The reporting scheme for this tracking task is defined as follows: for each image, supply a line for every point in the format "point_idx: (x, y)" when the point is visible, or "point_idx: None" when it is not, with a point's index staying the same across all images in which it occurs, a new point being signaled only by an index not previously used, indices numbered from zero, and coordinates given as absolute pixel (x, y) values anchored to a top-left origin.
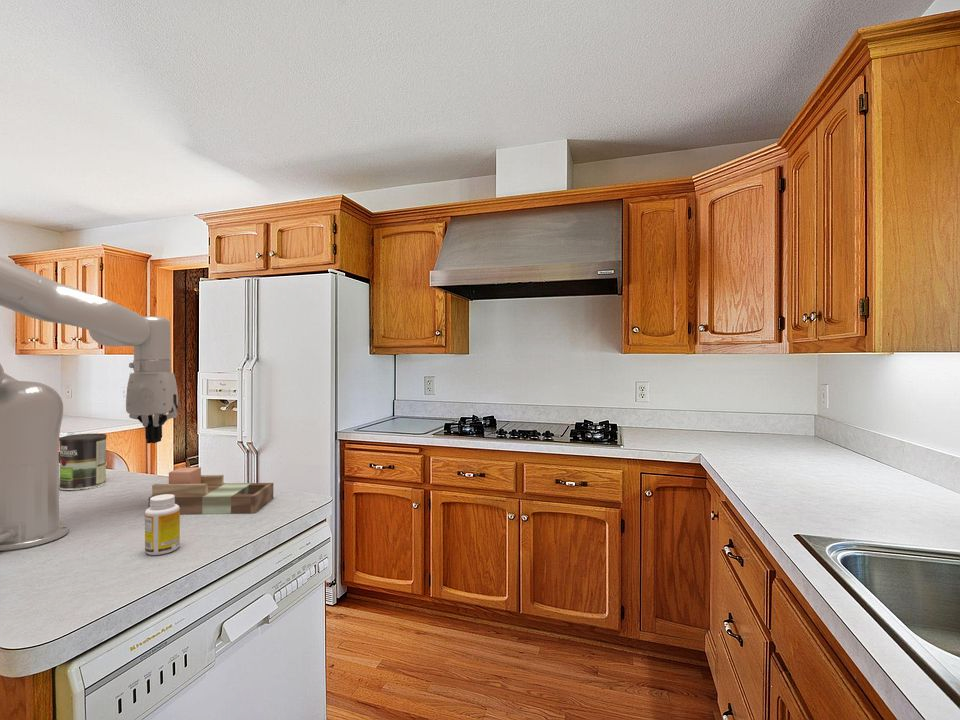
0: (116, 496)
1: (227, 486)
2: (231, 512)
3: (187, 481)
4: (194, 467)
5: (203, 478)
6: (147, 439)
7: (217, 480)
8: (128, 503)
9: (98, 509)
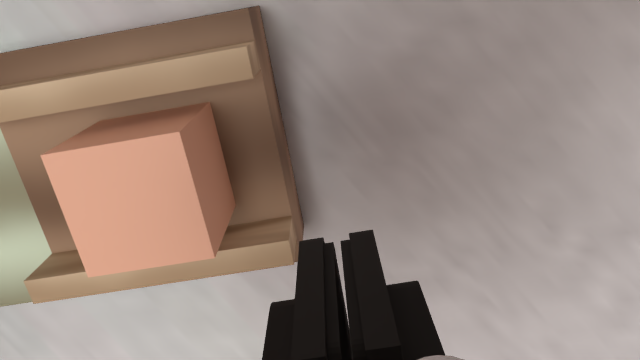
0: (609, 231)
1: (12, 248)
2: None
3: (86, 134)
4: (126, 271)
5: None
6: (363, 245)
7: (55, 265)
8: (481, 149)
9: (557, 52)
